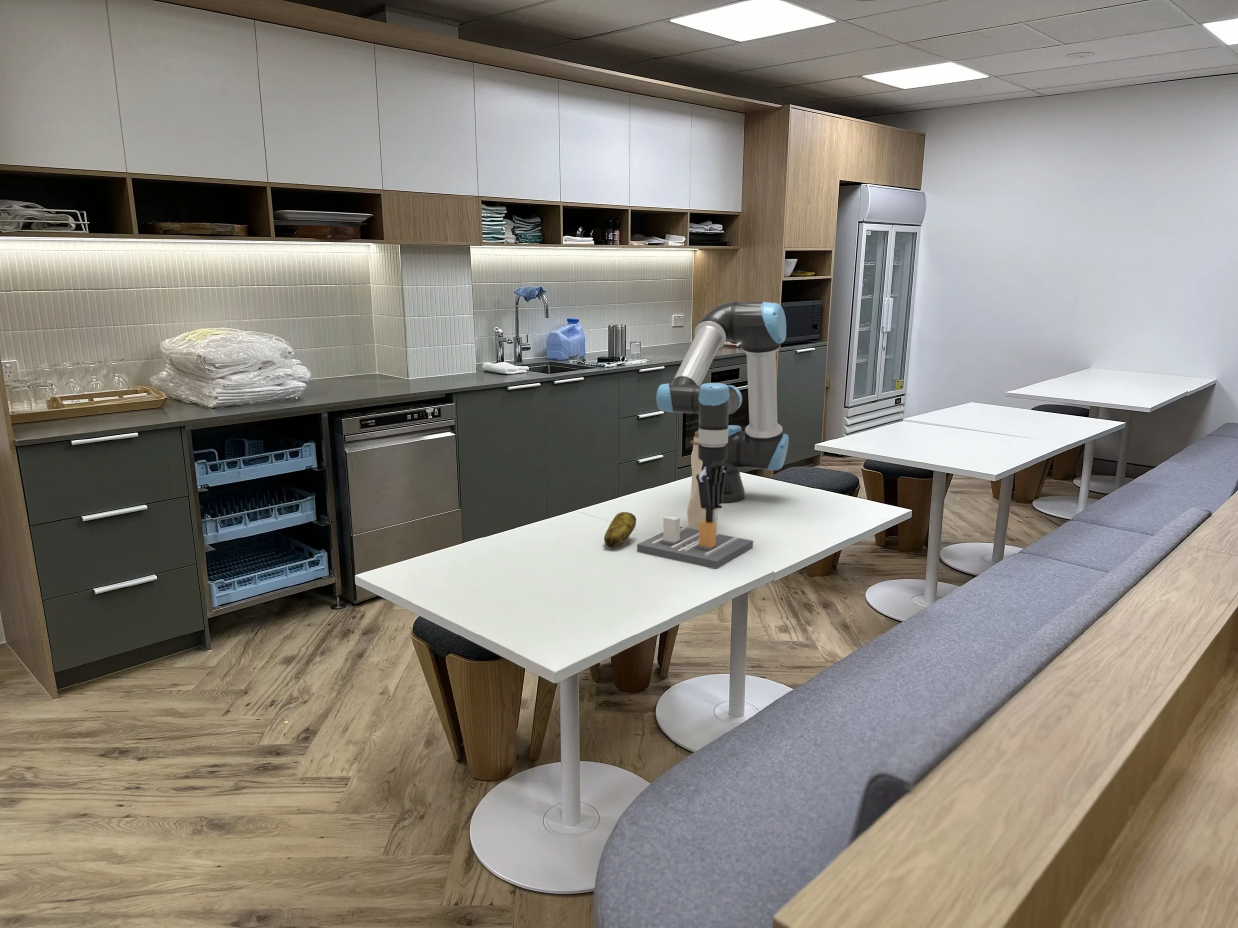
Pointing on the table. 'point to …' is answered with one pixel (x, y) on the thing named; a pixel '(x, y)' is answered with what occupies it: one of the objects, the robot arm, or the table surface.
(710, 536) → the fader
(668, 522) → the fader
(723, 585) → the table surface
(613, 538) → the potato
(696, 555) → the console
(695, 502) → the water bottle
